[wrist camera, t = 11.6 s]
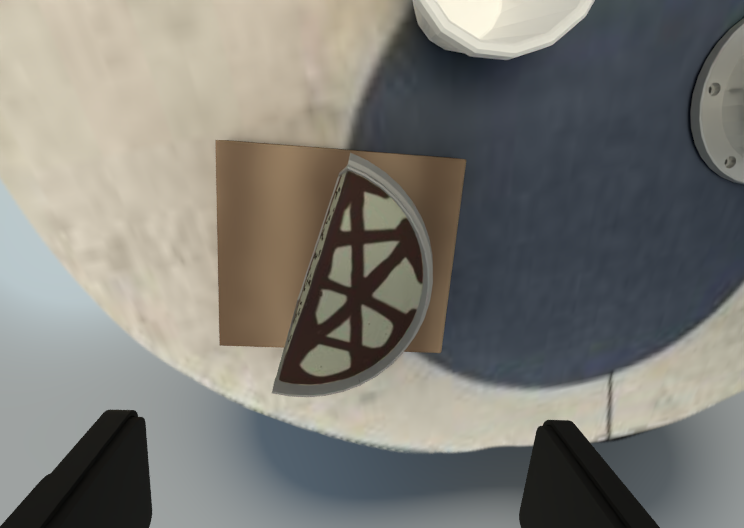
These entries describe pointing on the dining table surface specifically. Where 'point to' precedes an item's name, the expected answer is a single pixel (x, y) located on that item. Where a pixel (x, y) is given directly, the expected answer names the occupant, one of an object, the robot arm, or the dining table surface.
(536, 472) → the robot arm
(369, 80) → the dining table surface
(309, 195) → the walnut base
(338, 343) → the food container
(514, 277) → the dining table surface
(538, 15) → the cup
